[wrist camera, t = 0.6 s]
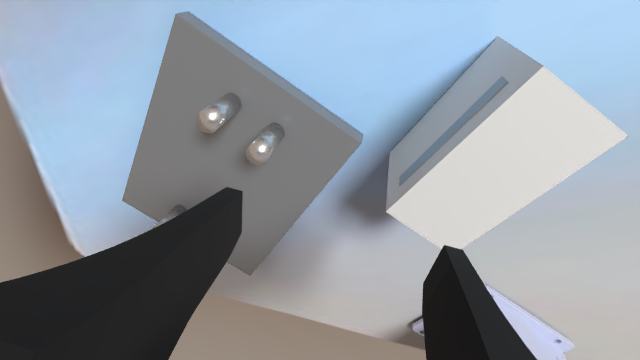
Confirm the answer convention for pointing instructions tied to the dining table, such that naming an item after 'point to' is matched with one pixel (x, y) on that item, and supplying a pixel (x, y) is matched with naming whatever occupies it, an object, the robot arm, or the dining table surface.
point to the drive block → (492, 147)
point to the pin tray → (233, 140)
